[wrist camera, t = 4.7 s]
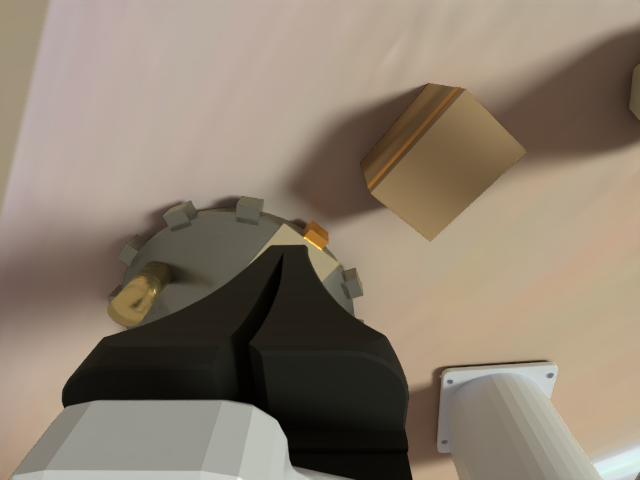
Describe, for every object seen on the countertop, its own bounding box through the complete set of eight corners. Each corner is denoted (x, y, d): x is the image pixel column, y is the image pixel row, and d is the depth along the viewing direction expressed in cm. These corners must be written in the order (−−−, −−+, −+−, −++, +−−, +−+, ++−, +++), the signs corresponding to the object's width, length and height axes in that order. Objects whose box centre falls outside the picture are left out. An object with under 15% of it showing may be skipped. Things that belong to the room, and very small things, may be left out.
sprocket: (270, 421, 27) (260, 486, 23) (80, 321, 23) (24, 379, 18) (415, 298, 21) (437, 355, 17) (200, 135, 17) (160, 158, 13)
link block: (406, 201, 19) (430, 242, 15) (359, 163, 18) (369, 193, 14) (476, 129, 18) (527, 151, 13) (428, 82, 17) (465, 88, 12)
